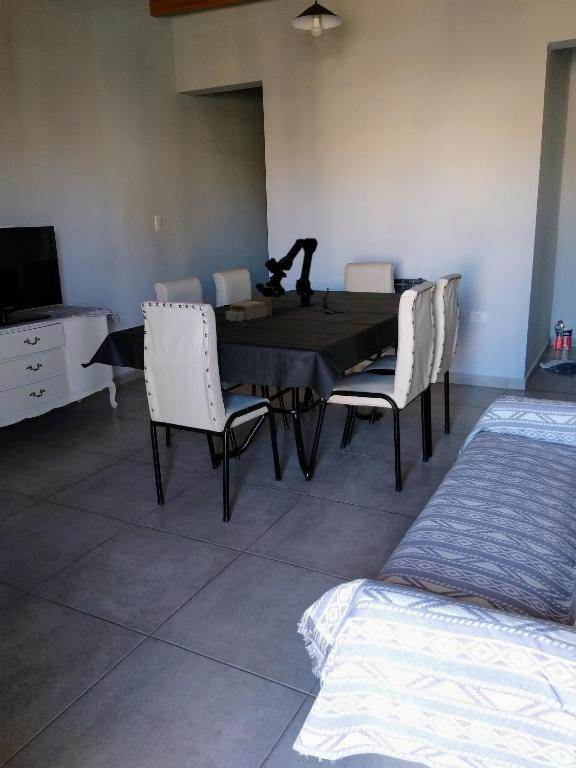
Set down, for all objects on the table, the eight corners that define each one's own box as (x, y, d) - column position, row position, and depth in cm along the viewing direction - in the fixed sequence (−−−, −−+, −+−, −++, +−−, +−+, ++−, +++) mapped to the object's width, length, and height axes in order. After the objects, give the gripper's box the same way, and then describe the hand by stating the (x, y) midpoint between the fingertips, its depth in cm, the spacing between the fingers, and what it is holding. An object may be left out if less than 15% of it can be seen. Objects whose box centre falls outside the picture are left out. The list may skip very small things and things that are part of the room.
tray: (254, 313, 351) (254, 295, 348) (271, 315, 342) (270, 297, 339) (223, 320, 334) (222, 301, 331) (240, 322, 326) (239, 303, 323)
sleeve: (249, 314, 348) (248, 300, 345) (265, 316, 339) (265, 302, 337) (231, 318, 338) (230, 304, 335) (247, 321, 329) (246, 306, 327)
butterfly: (311, 293, 343) (326, 284, 339) (317, 294, 352) (332, 284, 348) (325, 321, 341) (340, 312, 337) (331, 321, 350) (346, 312, 346)
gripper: (295, 289, 349) (282, 311, 344) (271, 286, 361) (258, 308, 356) (285, 276, 341) (272, 299, 336) (261, 274, 353) (248, 296, 348)
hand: (263, 301), depth 344 cm, fingers closed
